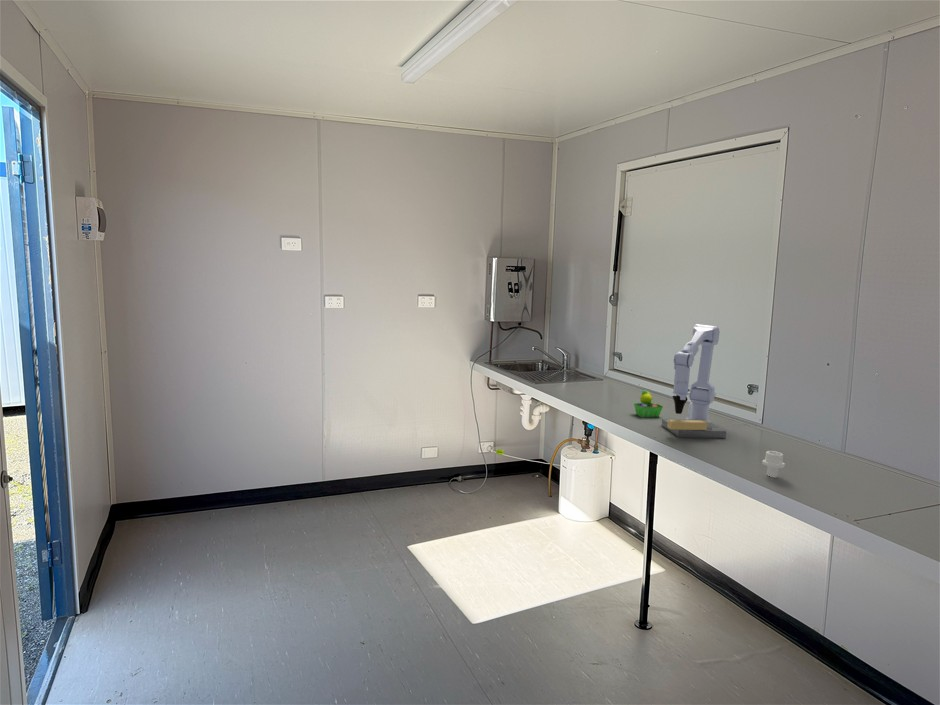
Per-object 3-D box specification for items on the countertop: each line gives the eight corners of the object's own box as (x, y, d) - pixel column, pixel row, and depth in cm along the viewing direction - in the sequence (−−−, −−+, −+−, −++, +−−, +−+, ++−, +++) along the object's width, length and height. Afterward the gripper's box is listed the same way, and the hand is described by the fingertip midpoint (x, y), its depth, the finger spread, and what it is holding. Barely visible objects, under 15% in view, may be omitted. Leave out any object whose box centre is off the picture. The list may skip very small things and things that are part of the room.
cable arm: (708, 427, 260) (709, 420, 260) (713, 430, 256) (714, 422, 256) (666, 426, 258) (667, 419, 258) (671, 429, 254) (671, 422, 254)
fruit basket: (640, 418, 286) (642, 393, 285) (631, 413, 295) (633, 389, 293) (662, 417, 289) (665, 393, 287) (653, 412, 297) (655, 389, 296)
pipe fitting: (758, 475, 213) (761, 452, 212) (765, 471, 218) (768, 448, 217) (778, 480, 209) (781, 457, 207) (785, 476, 214) (788, 453, 213)
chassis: (661, 425, 274) (662, 417, 274) (705, 426, 276) (706, 418, 275) (678, 437, 256) (679, 429, 255) (726, 438, 258) (727, 430, 257)
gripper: (694, 385, 252) (691, 418, 254) (688, 378, 266) (685, 410, 268) (676, 384, 253) (673, 416, 255) (671, 377, 267) (668, 408, 269)
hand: (678, 413), depth 262 cm, fingers closed
